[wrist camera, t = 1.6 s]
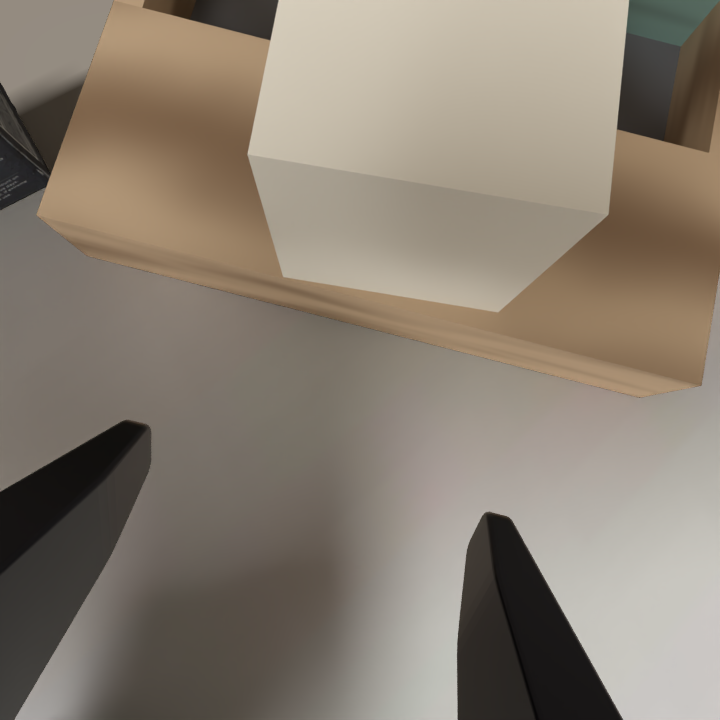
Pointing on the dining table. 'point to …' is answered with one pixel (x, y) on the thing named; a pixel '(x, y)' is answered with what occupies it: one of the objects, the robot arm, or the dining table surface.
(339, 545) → the dining table surface
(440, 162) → the cream block
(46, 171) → the small box
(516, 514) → the dining table surface
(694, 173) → the trap board
